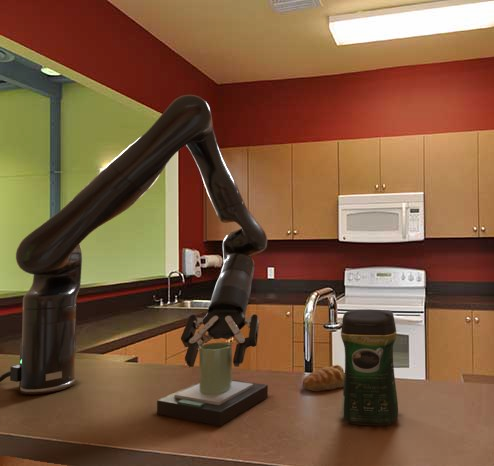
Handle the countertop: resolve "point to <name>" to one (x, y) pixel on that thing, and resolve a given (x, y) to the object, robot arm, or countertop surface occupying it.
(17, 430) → the countertop surface
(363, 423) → the coffee jar
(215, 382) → the cup
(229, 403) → the scale
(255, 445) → the countertop surface
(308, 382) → the pastry
